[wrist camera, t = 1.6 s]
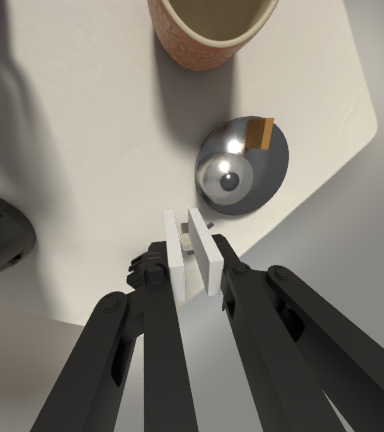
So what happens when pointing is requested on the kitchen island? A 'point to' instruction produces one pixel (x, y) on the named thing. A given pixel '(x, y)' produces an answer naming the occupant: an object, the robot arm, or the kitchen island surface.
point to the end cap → (137, 271)
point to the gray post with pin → (186, 239)
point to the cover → (225, 177)
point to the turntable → (250, 159)
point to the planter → (207, 28)
